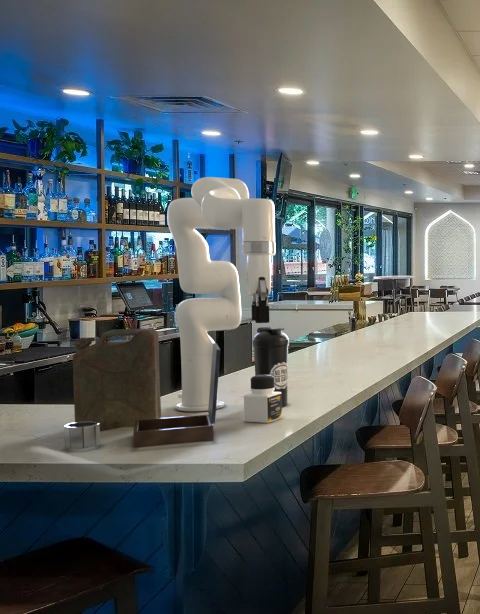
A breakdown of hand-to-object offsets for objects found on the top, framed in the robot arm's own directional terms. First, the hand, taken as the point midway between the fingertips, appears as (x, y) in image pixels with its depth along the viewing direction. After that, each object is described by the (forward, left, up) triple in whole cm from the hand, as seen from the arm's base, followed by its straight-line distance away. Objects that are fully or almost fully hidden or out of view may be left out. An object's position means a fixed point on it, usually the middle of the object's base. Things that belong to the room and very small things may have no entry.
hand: (260, 321), depth 194 cm
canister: (-35, -17, -28) cm, 48 cm away
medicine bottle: (-13, +10, -28) cm, 32 cm away
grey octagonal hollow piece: (-20, -33, -28) cm, 48 cm away
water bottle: (-28, +24, -28) cm, 46 cm away
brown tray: (-10, -17, -28) cm, 34 cm away
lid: (-6, -10, -14) cm, 18 cm away
